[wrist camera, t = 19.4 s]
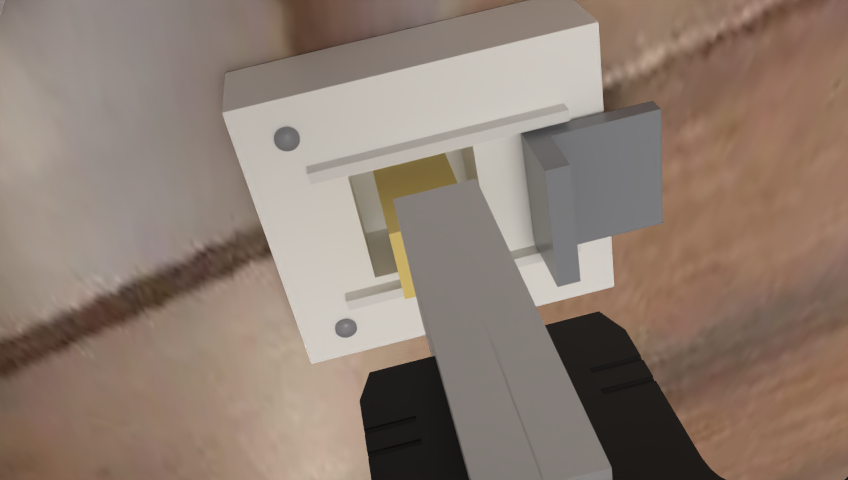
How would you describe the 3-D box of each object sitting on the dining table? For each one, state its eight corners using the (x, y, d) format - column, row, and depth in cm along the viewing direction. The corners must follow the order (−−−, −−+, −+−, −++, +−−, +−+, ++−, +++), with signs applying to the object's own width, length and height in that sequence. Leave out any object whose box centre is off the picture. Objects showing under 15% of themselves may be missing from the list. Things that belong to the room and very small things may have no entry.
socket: (225, 72, 41) (221, 120, 36) (564, -9, 42) (604, 27, 37) (306, 310, 50) (312, 373, 45) (585, 240, 51) (619, 294, 46)
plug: (369, 157, 45) (388, 234, 38) (439, 139, 45) (470, 213, 38) (384, 216, 47) (404, 299, 40) (450, 200, 47) (482, 279, 41)
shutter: (520, 133, 40) (544, 171, 37) (652, 100, 40) (687, 135, 37) (535, 243, 44) (557, 287, 41) (654, 213, 44) (686, 253, 41)
